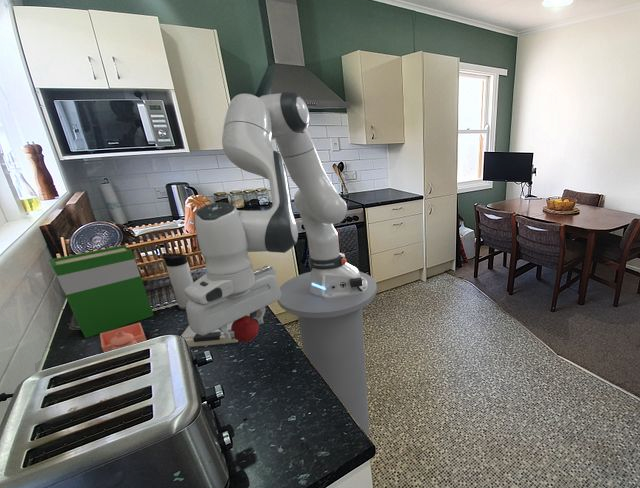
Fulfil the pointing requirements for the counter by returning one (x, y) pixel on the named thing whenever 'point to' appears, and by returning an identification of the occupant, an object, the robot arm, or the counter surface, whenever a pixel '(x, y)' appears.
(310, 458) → the counter surface
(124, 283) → the green box
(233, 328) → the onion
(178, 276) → the travel mug
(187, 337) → the scale
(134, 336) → the red box
